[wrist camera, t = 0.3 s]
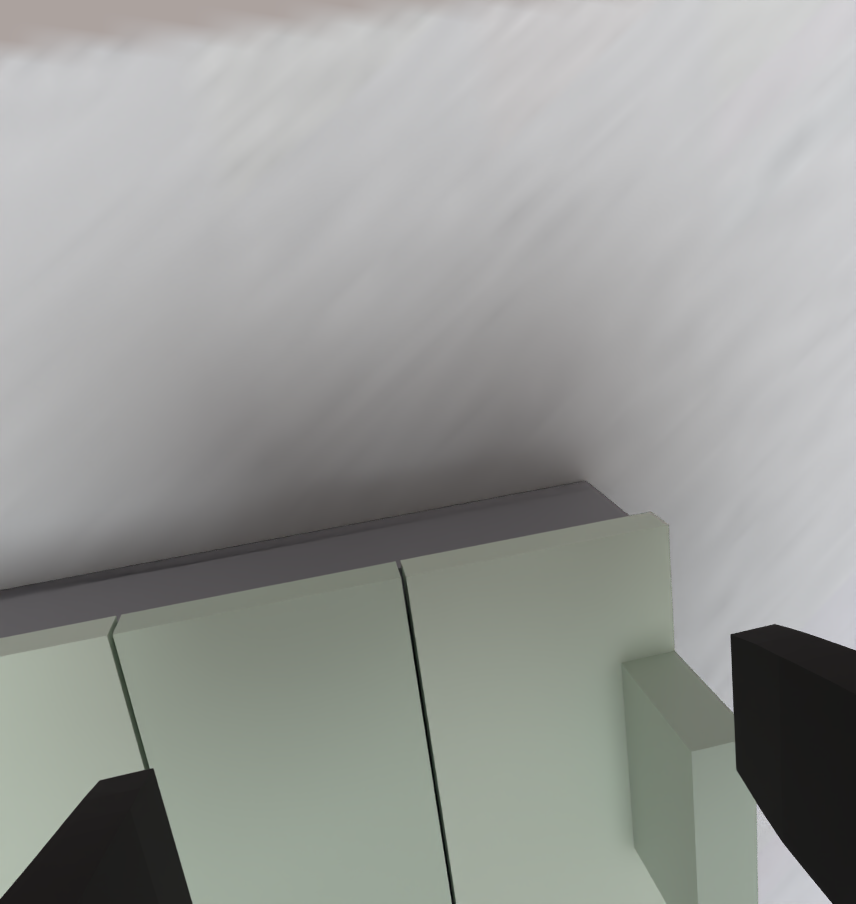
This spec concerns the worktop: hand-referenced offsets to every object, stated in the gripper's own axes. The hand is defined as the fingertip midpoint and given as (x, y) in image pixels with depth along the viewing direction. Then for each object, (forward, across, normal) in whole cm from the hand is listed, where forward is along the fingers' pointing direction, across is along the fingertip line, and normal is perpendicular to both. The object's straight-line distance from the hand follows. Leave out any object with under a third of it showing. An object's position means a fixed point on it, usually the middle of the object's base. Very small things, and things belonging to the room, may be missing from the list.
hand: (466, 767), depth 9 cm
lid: (+7, +3, +5) cm, 9 cm away
